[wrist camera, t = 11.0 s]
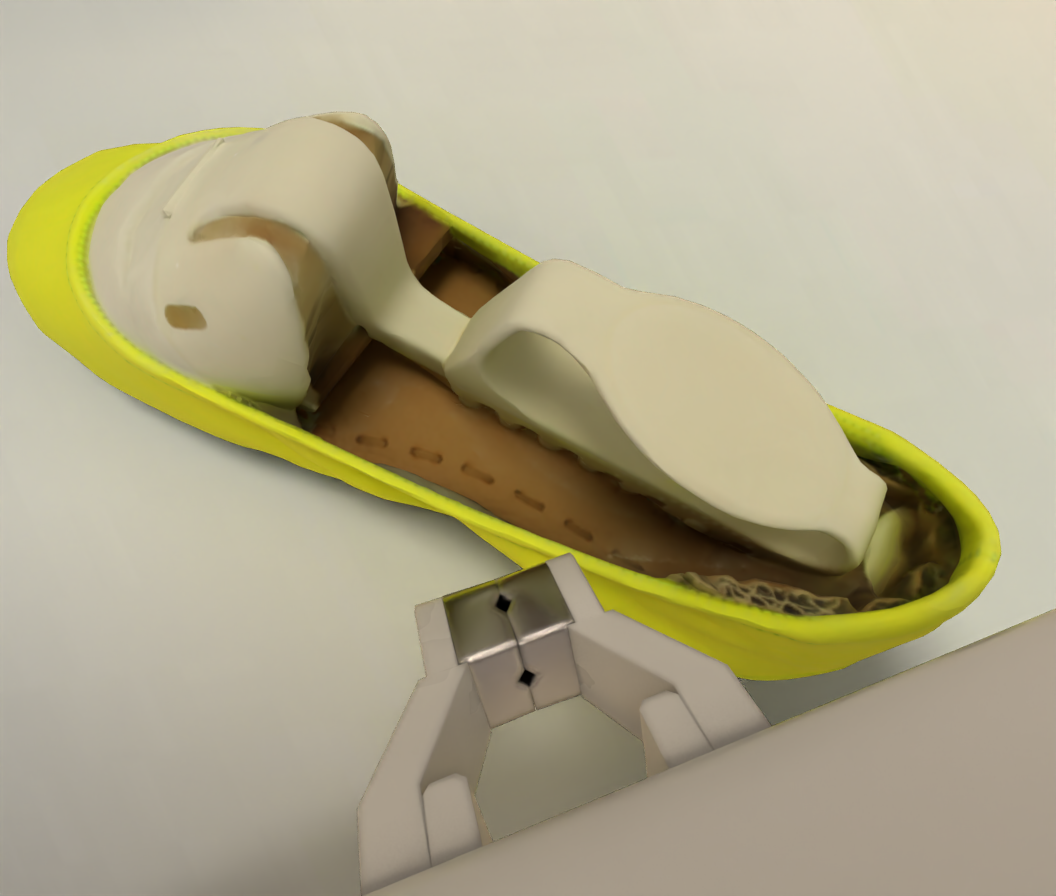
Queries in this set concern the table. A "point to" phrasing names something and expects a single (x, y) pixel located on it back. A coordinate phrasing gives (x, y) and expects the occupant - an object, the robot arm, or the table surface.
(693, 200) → the table surface
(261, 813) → the table surface
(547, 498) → the ballet flat
